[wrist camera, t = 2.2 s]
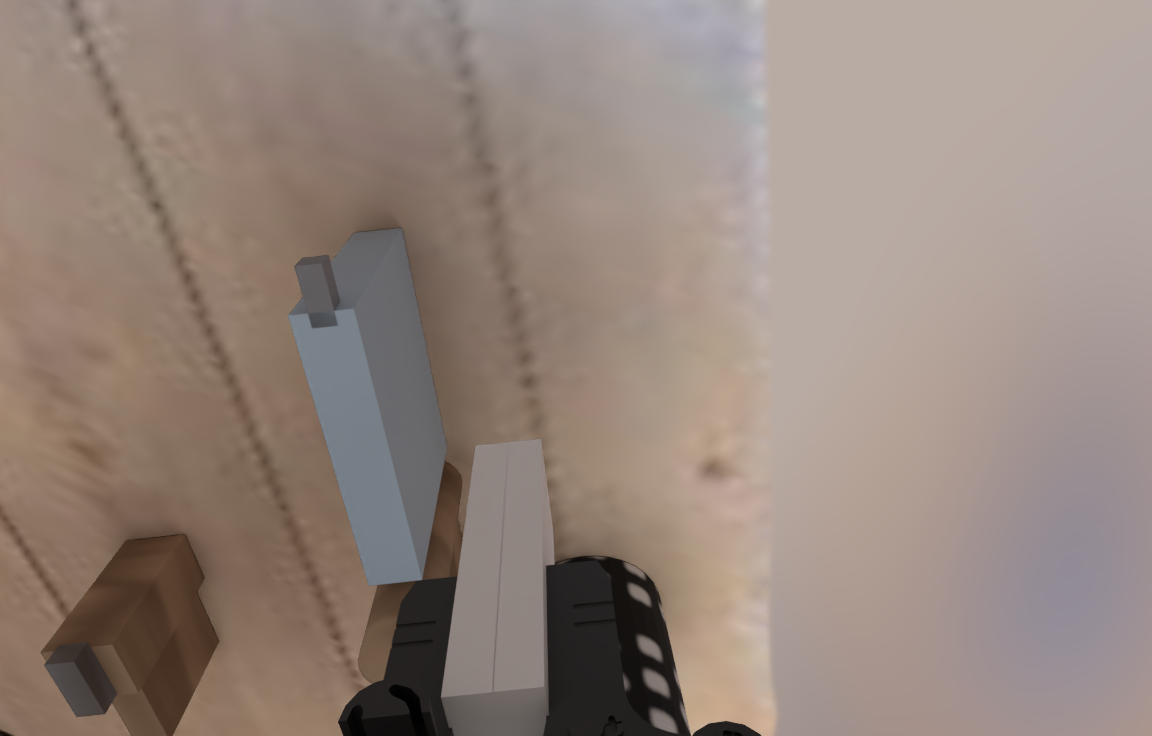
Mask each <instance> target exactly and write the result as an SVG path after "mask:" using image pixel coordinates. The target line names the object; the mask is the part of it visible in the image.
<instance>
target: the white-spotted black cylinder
mask: <svg viewBox="0 0 1152 736" xmlns="http://www.w3.org/2000/svg"><path fill="white" fill-rule="evenodd" d="M594 560H597V561H598V562H599V564H600V565H601V566H602V568H603V569H604V570H605V572H606V573H607V575H608V576H609V577H610V580H611V588H612V596H613V604H614V611H615V618H616V626H617V634H618V641H619V649H620V656H621V664H622V672H623V679H624V687H625V692H626V695H627V699H628V701H629V703H630V705H631V707H632V708H633V710H634V711H635V712H636V713H637V714H638V715H639V716H640V717H641V718H642V719H643V720H644V721H646V722H647V723H649V724H651V725H652V726H654V727H656V728H659V729H662V730H665V731H668V732H673V733H677V734H682V735H687V736H691V733H690V729H689V725H688V720H687V716H686V711H685V707H684V702H683V698H682V693H681V689H680V685H679V680H678V676H677V671H676V667H675V662H674V658H673V653H672V649H671V644H670V640H669V636H668V631H667V627H666V622H665V618H664V613H663V609H662V604H661V600H660V596H659V592H658V590H657V588H656V586H655V585H654V583H653V582H652V580H651V579H650V578H649V577H648V576H647V575H646V574H645V573H644V572H642V571H641V570H639V569H638V568H637V567H635V566H633V565H631V564H628V563H626V562H624V561H621V560H617V559H613V558H609V557H598V556H590V557H578V558H573V559H569V560H565V561H562V562H559V563H557V564H565V563H575V562H585V561H594ZM554 565H556V564H554Z"/></svg>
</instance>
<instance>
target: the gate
mask: <svg viewBox="0 0 1152 736" xmlns="http://www.w3.org/2000/svg"><path fill="white" fill-rule="evenodd" d="M294 267H295V270H296V274H297V277H298V281H299V284H300V288H301V291H302V295H303V297H302V299H301V300H300V301H299V302H298V304H297V305H296V306H295V307H294V309H293V310H292V311H291V312H290V314H289V315H288V317H289V321H290V324H291V327H292V331H293V334H294V337H295V341H296V344H297V347H298V351H299V354H300V357H301V361H302V364H303V367H304V371H305V374H306V377H307V381H308V384H309V387H310V391H311V394H312V397H313V401H314V404H315V407H316V411H317V414H318V418H319V421H320V424H321V428H322V431H323V434H324V438H325V441H326V444H327V448H328V451H329V454H330V458H331V461H332V464H333V468H334V471H335V474H336V478H337V481H338V484H339V488H340V491H341V494H342V498H343V501H344V504H345V508H346V511H347V514H348V518H349V521H350V524H351V528H352V531H353V535H354V538H355V541H356V545H357V548H358V551H359V555H360V558H361V561H362V565H363V568H364V571H365V575H366V578H367V581H368V585H369V586H373V585H382V584H391V583H400V582H409V581H418V580H422V578H423V573H424V567H425V562H426V557H427V551H428V546H429V541H430V536H431V530H432V525H433V520H434V514H435V509H436V504H437V498H438V493H439V488H440V482H441V477H442V472H443V466H444V461H445V456H446V451H447V445H446V440H445V435H444V430H443V425H442V420H441V416H440V411H439V406H438V401H437V396H436V391H435V386H434V382H433V377H432V372H431V367H430V362H429V357H428V353H427V348H426V343H425V338H424V333H423V328H422V323H421V319H420V314H419V309H418V304H417V299H416V294H415V289H414V285H413V280H412V275H411V270H410V265H409V260H408V255H407V251H406V246H405V241H404V236H403V231H402V228H396V229H386V230H376V231H367V232H357V233H353V235H352V236H351V237H350V238H349V240H348V241H347V242H346V244H345V245H344V246H343V247H342V249H341V250H340V251H339V252H338V254H337V255H336V256H335V257H334V259H333V260H332V261H331V262H330V259H329V255H325V256H316V257H306V258H302V259H301V260H300V261H299V262H298V263H297V264H296V265H295V266H294Z"/></svg>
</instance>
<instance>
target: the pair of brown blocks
mask: <svg viewBox="0 0 1152 736" xmlns="http://www.w3.org/2000/svg"><path fill="white" fill-rule="evenodd" d="M461 490H462V479H461V476H460V474H459V472H458V471H457V470H456V469H455V468H454V467H453V466H452V465H450V464H448V463H446V462H444V466H443V472H442V477H441V482H440V488H439V493H438V498H437V504H436V509H435V514H434V520H433V525H432V530H431V536H430V541H429V546H428V551H427V557H426V562H425V567H424V573H423V578H422V580H427V579H437V578H446V577H456V576H458V570H459V562H460V555H461V548H462V536H461V532H460V527H459V522H458V511H459V504H460V497H461ZM203 580H204V576H203V574H202V572H201V570H200V567H199V565H198V563H197V561H196V558H195V556H194V554H193V551H192V549H191V547H190V545H189V542H188V540H187V538H186V536H185V534H184V535H175V536H166V537H156V538H147V539H138V540H129V541H125V543H124V544H123V545H122V547H121V548H120V549H119V551H118V552H117V553H116V554H115V556H114V557H113V558H112V560H111V561H110V562H109V564H108V565H107V566H106V568H105V569H104V570H103V571H102V573H101V574H100V575H99V577H98V578H97V579H96V581H95V582H94V583H93V585H92V586H91V587H90V588H89V590H88V591H87V592H86V594H85V595H84V596H83V598H82V599H81V600H80V602H79V603H78V604H77V605H76V607H75V608H74V609H73V611H72V612H71V613H70V615H69V616H68V617H67V619H66V620H65V621H64V622H63V624H62V625H61V626H60V628H59V629H58V630H57V632H56V633H55V634H54V636H53V637H52V638H51V639H50V641H49V642H48V643H47V645H46V646H45V647H44V649H43V650H42V651H41V654H42V656H43V658H44V659H45V661H46V663H45V665H44V666H45V667H46V669H47V670H48V672H49V674H50V675H51V677H52V678H53V680H54V682H55V683H56V685H57V686H58V688H59V690H60V691H61V693H62V694H63V696H64V698H65V699H66V701H67V702H68V704H69V706H70V707H71V709H72V710H73V712H74V714H75V715H76V717H82V716H91V715H100V714H105V713H106V711H107V710H108V708H109V707H110V705H111V703H113V705H114V707H115V708H116V710H117V712H118V714H119V715H120V717H121V719H122V720H123V722H124V724H125V726H126V727H127V729H128V731H129V732H130V734H131V736H173V734H174V732H175V730H176V728H177V726H178V724H179V722H180V720H181V718H182V716H183V714H184V712H185V709H186V707H187V705H188V703H189V701H190V699H191V697H192V695H193V693H194V691H195V689H196V687H197V685H198V683H199V681H200V679H201V677H202V675H203V673H204V671H205V669H206V667H207V665H208V663H209V661H210V659H211V657H212V655H213V653H214V651H215V649H216V647H217V645H218V643H219V641H218V638H217V636H216V634H215V632H214V629H213V627H212V625H211V623H210V621H209V618H208V616H207V614H206V612H205V610H204V607H203V605H202V603H201V601H200V598H199V596H198V594H197V591H198V589H199V587H200V585H201V584H202V582H203ZM415 582H416V581H409V582H400V583H391V584H382V585H378V586H377V590H376V593H375V597H374V601H373V605H372V608H371V612H370V616H369V620H368V624H367V627H366V631H365V635H364V639H363V643H362V646H361V650H360V654H359V658H358V667H359V670H360V672H361V674H362V675H363V676H364V678H365V679H367V680H368V681H369V682H370V683H372V684H373V683H374V682H377V681H381V680H383V679H384V675H385V671H386V666H387V662H388V657H389V653H390V649H391V648H392V640H393V635H394V631H395V629H396V622H397V618H398V613H399V609H400V604H401V601H402V600H403V599H404V597H405V596H406V594H407V593H408V592H409V590H410V589H411V587H412V586H413V585H414V583H415Z"/></svg>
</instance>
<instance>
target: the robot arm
mask: <svg viewBox="0 0 1152 736" xmlns="http://www.w3.org/2000/svg"><path fill="white" fill-rule="evenodd" d="M338 723H339V725H340V728H341V731H342V733H343V736H687V735H682V734H677V733H673V732H668V731H665V730H662V729H659V728H656V727H654V726H652V725H651V724H649V723H647V722H646V721H644V720H643V719H642V718H641V717H640V716H639V715H638V714H637V713H636V712H635V711H634V710H633V708H632V707H631V705H630V703H629V701H628V699H627V695H626V692H625V687H624V679H623V672H622V664H621V656H620V649H619V641H618V634H617V626H616V618H615V611H614V604H613V596H612V588H611V580H610V577H609V576H608V575H607V573H606V572H605V570H604V569H603V568H602V566H601V565H600V564H599V562H598V561H597V560H594V561H585V562H575V563H565V564H556V565H554V536H553V525H552V518H551V510H550V503H549V495H548V488H547V480H546V472H545V465H544V457H543V450H542V442H541V439H534V440H524V441H514V442H505V443H495V444H485V445H476V446H475V453H474V461H473V468H472V475H471V482H470V490H469V497H468V504H467V512H466V519H465V526H464V533H463V541H462V548H461V555H460V562H459V570H458V576H456V577H446V578H437V579H427V580H418V581H416V582H415V583H414V585H413V586H412V587H411V589H410V590H409V592H408V593H407V594H406V596H405V597H404V599H403V600H402V601H401V604H400V609H399V613H398V618H397V622H396V629H395V631H394V635H393V640H392V648H391V649H390V653H389V657H388V662H387V666H386V671H385V675H384V679H383V680H381V681H377V682H374V683H373V684H371V685H369V686H368V687H366V688H364V689H363V690H361V691H359V692H358V693H357V694H356V695H355V696H354V697H353V698H352V700H351V701H350V702H349V703H348V704H347V705H346V706H345V708H344V710H343V712H342V714H341V717H340V719H339V721H338ZM0 736H3V735H1V734H0ZM693 736H761V735H760V734H759V733H757V732H755V731H754V730H752V729H750V728H749V727H747V726H745V725H743V724H738V723H733V722H728V721H724V722H717V723H710V724H708V725H706V726H704V727H703V728H701V729H699V730H697V731H696V732H695V733H694V734H693Z"/></svg>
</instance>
